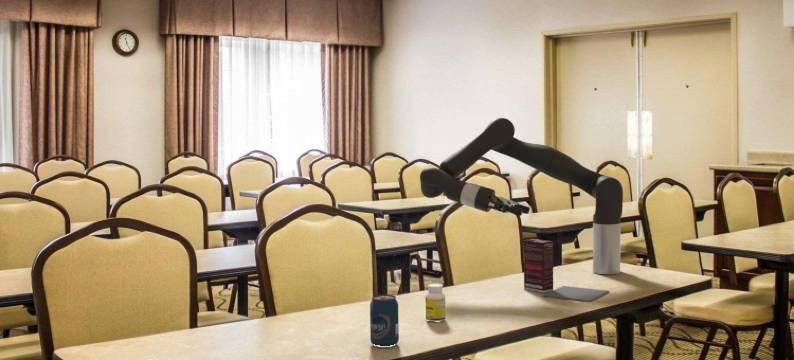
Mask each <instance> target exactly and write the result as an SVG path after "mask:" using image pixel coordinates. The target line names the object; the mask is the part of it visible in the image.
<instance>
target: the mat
mask: <svg viewBox="0 0 794 360" xmlns="http://www.w3.org/2000/svg"><path fill="white" fill-rule="evenodd" d="M608 293H610V291H609V290H605V289H598V288H597V289H596V288H586V287H578V286H576V287H575V286H566V285H562V286H561V287H557V288H556V289H553V291H551V292H548V293H543V295H542V297H543V298H550V299H559V300H569V301H576V302H586V303H591V302H593V301H595V300H597V299H598V298H601V297H603V296H605V295H607V294H608Z"/></svg>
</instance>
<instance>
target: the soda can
mask: <svg viewBox="0 0 794 360" xmlns="http://www.w3.org/2000/svg"><path fill="white" fill-rule="evenodd" d="M371 298H372V299H371V301H370V303H369V320H370V321H369V326H370V327H369V329H370V333H369V334H370V339H369V340H370V342H371V344H372V345H373V344H375V345H380V346H390V345H394V344H396V345H398V342H399V337H400V335H399V332H400V331H399V327H400V326H399V302H398V301H397V297H396V296H395V295H392V294H377V295H373V296H372V297H371Z"/></svg>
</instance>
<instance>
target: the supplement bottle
mask: <svg viewBox="0 0 794 360" xmlns="http://www.w3.org/2000/svg"><path fill="white" fill-rule="evenodd" d="M443 290H444V289H443V284H441V283H431V284H428V285H427V291H428V292H426V294H425V320H426V321H427V320H429V321H443V320H445V321H446V316H447V315H446V294H445V292H442V291H443ZM443 322H444V321H443Z"/></svg>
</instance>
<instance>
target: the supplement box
mask: <svg viewBox="0 0 794 360" xmlns="http://www.w3.org/2000/svg"><path fill="white" fill-rule="evenodd" d="M523 289H524V291H526V290H527V291H530V292H535V293H541V294H547V293H549V292H551V291H553V290H554V241H552V240H544V239H538V238H537V239H536V238H527V239H524V240H523Z"/></svg>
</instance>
